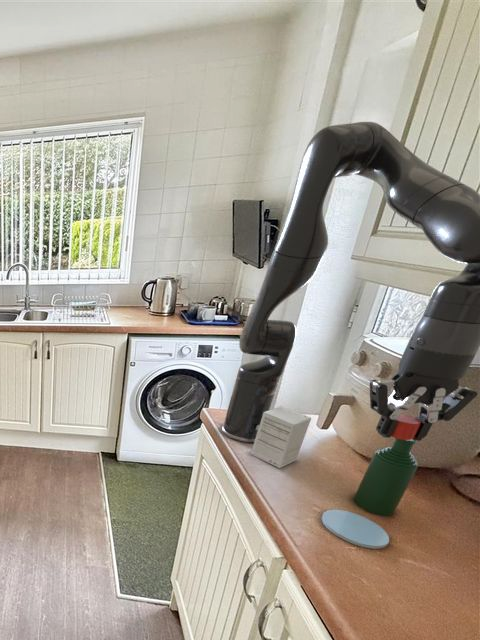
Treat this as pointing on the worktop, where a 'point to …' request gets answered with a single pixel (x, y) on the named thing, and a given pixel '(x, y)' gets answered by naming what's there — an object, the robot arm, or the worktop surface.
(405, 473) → the sauce bottle
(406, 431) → the cap
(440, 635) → the worktop surface
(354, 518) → the saucer
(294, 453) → the white packaging box
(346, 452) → the worktop surface
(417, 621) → the worktop surface
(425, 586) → the worktop surface
